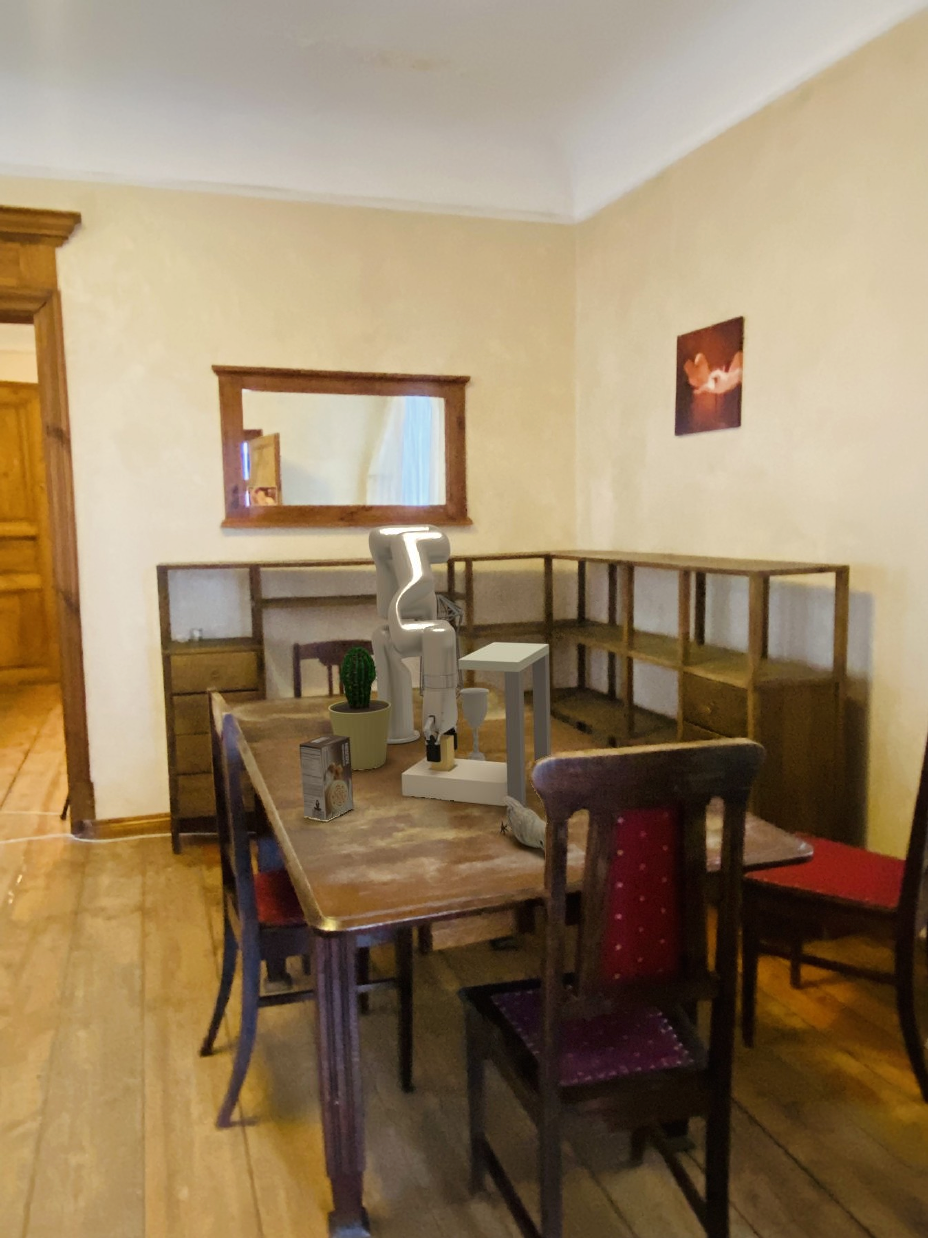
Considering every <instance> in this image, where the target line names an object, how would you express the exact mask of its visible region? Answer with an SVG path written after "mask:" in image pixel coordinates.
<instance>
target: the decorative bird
mask: <svg viewBox="0 0 928 1238" xmlns="http://www.w3.org/2000/svg"><path fill="white" fill-rule="evenodd" d="M503 801H504V802H505V804H506V806H507V808H506V818H507V822H506V823H505V825H504V822H503V820H502V819H501V820H500V821H501V826H500V832H499V835H501V834H502V833H503V835H506V832H508V833H509V832H510V831H509V830H508V829H507V827H510V830H511V832H512V834H513V835H514V837H515V838H516V839H517V840H518V841H519V842H520V843H521V844H523V845H525V846H528V847H531V848H535V849H537V848H538V849H539V848H541V850H542V851H544V853H545V827H546V823H547V822H546V821H545V820H542V818H541V817H540V816H539V815H538V814H537V813H536V811H534V810H533V809H531V808H530V807H527V806H526V807H525V806H523V805H521V804H520V803H519V802H518V801H517V800H515V799H514V798H512V797H510V796H505V798H504V799H503Z"/></svg>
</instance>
